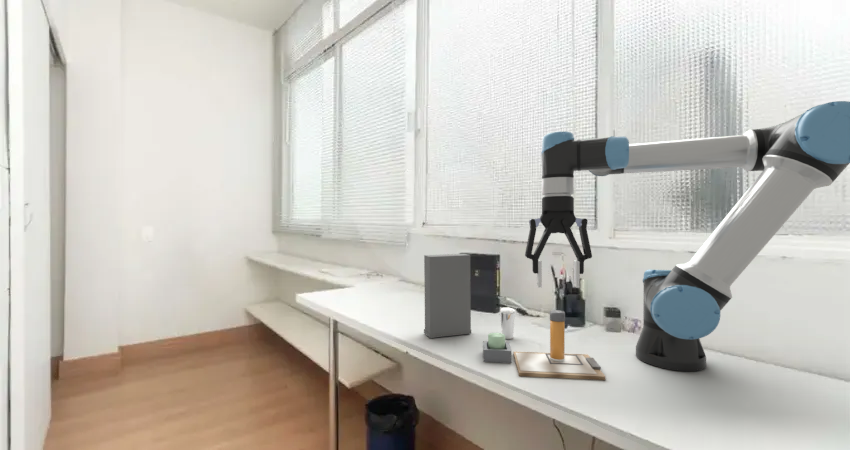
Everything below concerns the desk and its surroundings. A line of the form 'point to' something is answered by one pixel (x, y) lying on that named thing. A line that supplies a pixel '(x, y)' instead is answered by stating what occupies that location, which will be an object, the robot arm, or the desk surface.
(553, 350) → the orange capped bottle
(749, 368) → the desk surface
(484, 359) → the button housing
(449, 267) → the tall grey upright box
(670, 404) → the desk surface
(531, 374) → the clipboard
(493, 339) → the button
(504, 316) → the milkshake
